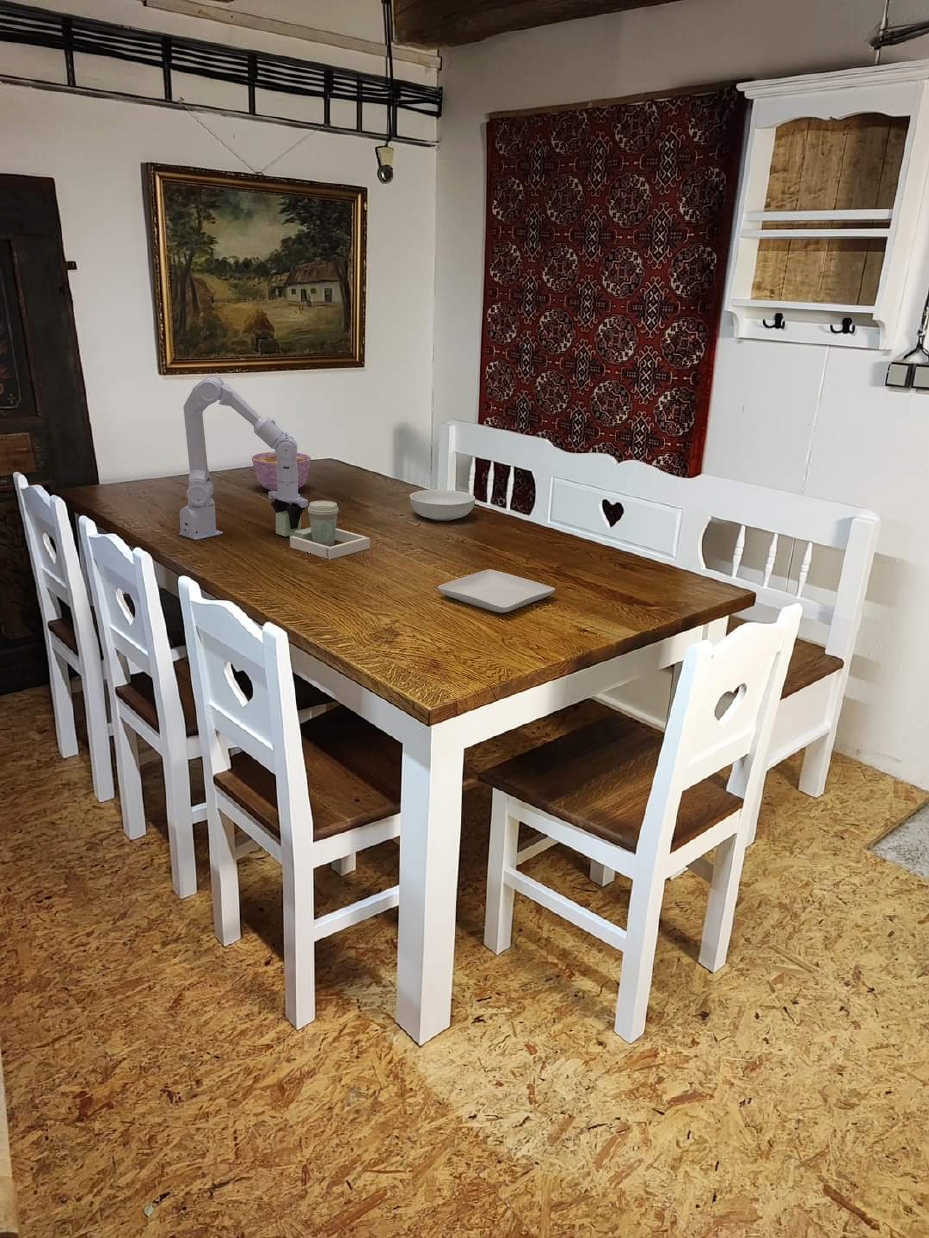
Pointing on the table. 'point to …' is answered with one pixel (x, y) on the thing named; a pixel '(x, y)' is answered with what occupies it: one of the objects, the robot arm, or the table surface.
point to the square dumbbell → (285, 529)
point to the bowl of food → (268, 469)
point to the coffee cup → (323, 521)
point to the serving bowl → (442, 504)
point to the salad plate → (496, 590)
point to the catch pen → (350, 546)
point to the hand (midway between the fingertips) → (288, 527)
